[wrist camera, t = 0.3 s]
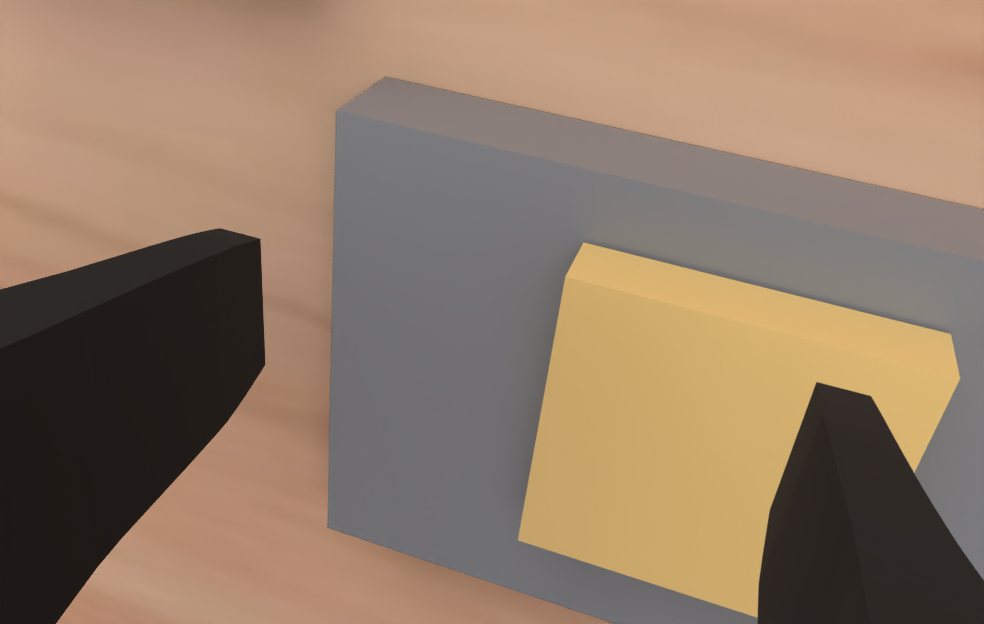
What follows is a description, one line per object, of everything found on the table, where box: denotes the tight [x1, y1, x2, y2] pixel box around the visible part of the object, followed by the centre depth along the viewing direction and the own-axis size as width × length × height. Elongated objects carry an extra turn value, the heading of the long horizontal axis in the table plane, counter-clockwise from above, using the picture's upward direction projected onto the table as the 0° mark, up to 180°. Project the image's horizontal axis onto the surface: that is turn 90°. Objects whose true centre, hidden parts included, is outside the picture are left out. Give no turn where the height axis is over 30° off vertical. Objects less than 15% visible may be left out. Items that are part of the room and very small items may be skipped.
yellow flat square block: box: [518, 242, 960, 618], centre depth 19 cm, size 7×7×2 cm
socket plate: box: [327, 77, 984, 624], centre depth 21 cm, size 12×18×2 cm, turn 83°
